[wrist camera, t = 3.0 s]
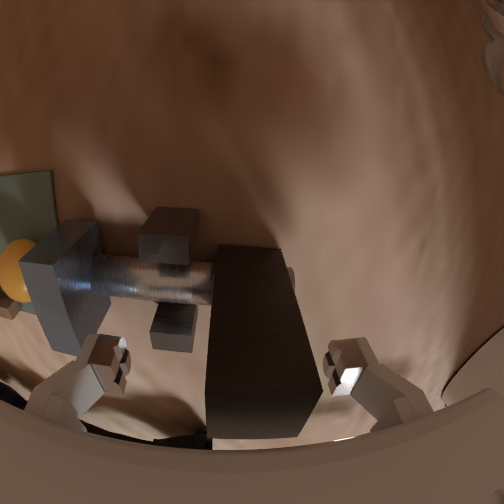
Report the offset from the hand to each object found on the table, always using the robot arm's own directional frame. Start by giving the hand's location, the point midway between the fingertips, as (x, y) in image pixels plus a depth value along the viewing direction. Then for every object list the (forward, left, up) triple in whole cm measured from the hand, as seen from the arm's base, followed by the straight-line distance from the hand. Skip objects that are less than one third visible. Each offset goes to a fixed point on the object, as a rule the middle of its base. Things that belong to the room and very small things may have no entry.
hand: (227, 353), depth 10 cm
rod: (+3, -1, -5) cm, 6 cm away
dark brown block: (+3, -1, -5) cm, 6 cm away
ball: (+12, -1, -3) cm, 12 cm away
